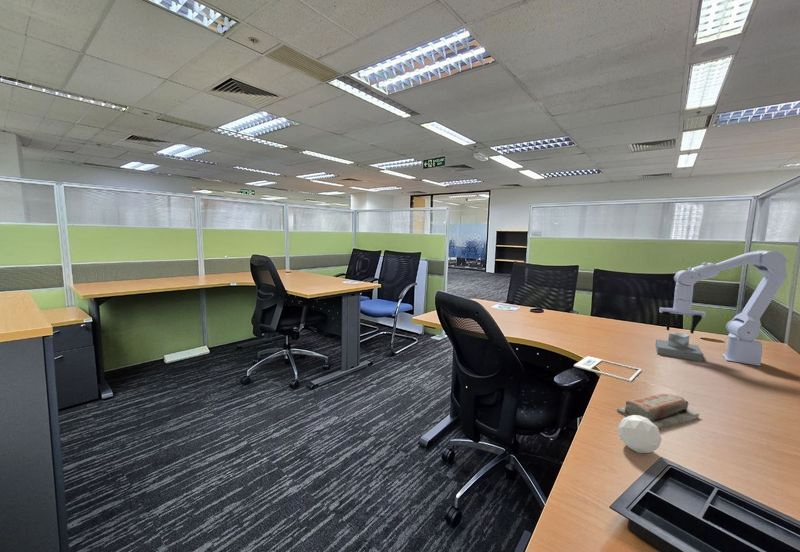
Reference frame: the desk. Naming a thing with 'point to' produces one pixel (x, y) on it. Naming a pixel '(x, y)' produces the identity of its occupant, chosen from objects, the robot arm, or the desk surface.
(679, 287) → the robot arm
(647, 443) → the geometric ball
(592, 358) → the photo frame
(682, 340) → the grey-green cube
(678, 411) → the packaged product
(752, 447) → the desk surface
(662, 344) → the pedestal
